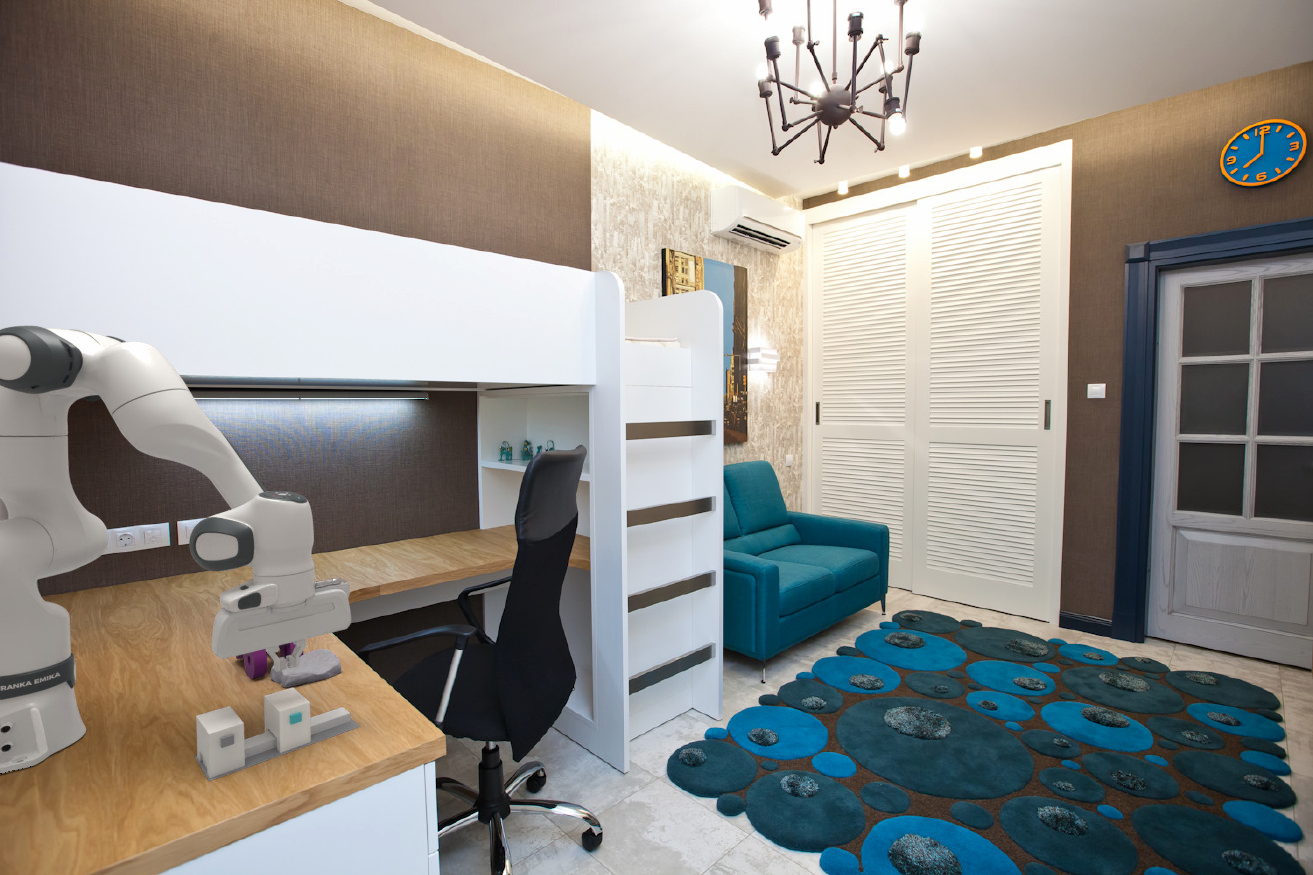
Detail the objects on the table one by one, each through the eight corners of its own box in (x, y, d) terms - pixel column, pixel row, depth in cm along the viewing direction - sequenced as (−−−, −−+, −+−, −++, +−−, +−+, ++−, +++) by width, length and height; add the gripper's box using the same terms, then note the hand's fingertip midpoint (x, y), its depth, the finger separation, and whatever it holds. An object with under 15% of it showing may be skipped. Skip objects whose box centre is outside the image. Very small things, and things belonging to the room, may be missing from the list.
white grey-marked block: (210, 779, 91) (209, 735, 91) (197, 757, 98) (196, 715, 97) (245, 767, 95) (244, 724, 94) (230, 746, 101) (229, 705, 101)
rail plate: (209, 787, 91) (208, 771, 91) (194, 762, 98) (194, 747, 98) (360, 731, 107) (360, 717, 107) (339, 713, 114) (338, 700, 114)
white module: (281, 754, 98) (280, 712, 98) (264, 734, 104) (263, 695, 104) (311, 743, 102) (311, 703, 101) (294, 724, 108) (293, 687, 108)
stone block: (346, 680, 133) (326, 660, 139) (347, 661, 132) (326, 641, 138) (286, 702, 124) (267, 680, 130) (287, 681, 123) (268, 660, 129)
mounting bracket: (235, 689, 138) (256, 675, 127) (230, 652, 140) (250, 635, 129) (282, 676, 145) (305, 662, 134) (277, 641, 147) (299, 624, 136)
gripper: (342, 572, 112) (344, 646, 113) (207, 596, 97) (210, 681, 98) (356, 578, 108) (357, 655, 108) (217, 604, 93) (219, 693, 93)
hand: (286, 668), depth 103 cm, fingers closed
